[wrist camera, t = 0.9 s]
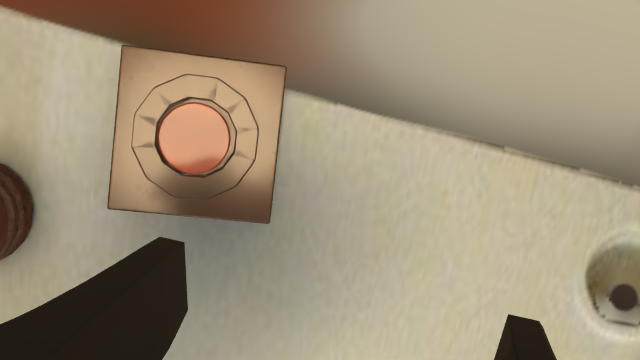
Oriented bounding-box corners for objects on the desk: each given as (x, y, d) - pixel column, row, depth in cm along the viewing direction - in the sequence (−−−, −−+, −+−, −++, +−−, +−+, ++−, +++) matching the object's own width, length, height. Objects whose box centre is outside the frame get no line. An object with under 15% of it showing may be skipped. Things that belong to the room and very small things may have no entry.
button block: (267, 218, 37) (271, 229, 33) (114, 204, 36) (99, 214, 32) (283, 69, 36) (289, 63, 33) (128, 49, 35) (115, 39, 31)
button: (226, 174, 33) (226, 177, 31) (158, 167, 32) (154, 169, 31) (233, 107, 33) (233, 106, 31) (164, 99, 32) (161, 98, 30)
